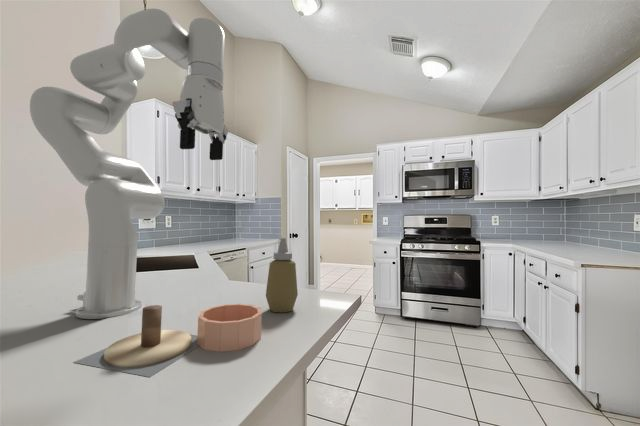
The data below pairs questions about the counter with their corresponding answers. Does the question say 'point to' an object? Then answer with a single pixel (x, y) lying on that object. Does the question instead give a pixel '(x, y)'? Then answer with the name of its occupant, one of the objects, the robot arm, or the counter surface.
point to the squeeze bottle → (282, 281)
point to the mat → (145, 371)
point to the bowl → (229, 327)
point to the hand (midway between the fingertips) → (202, 154)
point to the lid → (148, 343)
